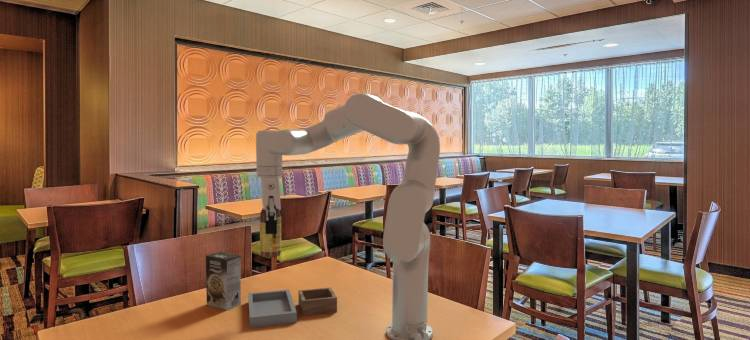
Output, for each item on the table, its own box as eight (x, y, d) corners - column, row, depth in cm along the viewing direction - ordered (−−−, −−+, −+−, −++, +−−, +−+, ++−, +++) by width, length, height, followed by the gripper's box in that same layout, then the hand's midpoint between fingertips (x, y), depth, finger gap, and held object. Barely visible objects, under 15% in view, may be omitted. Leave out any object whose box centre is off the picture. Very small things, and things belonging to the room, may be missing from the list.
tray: (296, 322, 126) (296, 312, 126) (249, 328, 123) (249, 317, 122) (289, 298, 146) (289, 289, 145) (248, 302, 142) (248, 293, 141)
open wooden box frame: (337, 311, 134) (337, 297, 134) (302, 315, 131) (302, 301, 131) (330, 300, 143) (330, 287, 143) (298, 304, 140) (298, 290, 140)
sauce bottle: (276, 259, 129) (275, 192, 127) (256, 258, 130) (255, 191, 129) (285, 253, 135) (284, 189, 134) (266, 252, 137) (265, 188, 135)
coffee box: (205, 305, 139) (204, 255, 138) (221, 299, 144) (220, 250, 143) (226, 311, 135) (225, 259, 133) (242, 304, 140) (241, 254, 139)
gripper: (285, 173, 124) (286, 236, 125) (279, 169, 140) (280, 225, 142) (257, 174, 122) (258, 238, 123) (255, 169, 138) (256, 226, 139)
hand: (270, 230), depth 132 cm, fingers closed on sauce bottle, 6 cm apart
